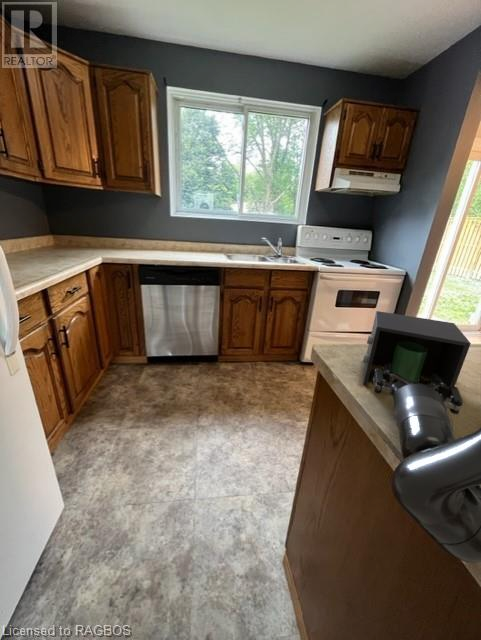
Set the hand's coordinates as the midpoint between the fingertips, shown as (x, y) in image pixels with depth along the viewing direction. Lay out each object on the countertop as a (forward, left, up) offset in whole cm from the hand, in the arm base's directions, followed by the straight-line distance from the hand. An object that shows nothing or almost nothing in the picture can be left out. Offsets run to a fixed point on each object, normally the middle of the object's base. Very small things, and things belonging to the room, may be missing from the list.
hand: (410, 371), depth 59 cm
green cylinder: (0, -5, -6) cm, 8 cm away
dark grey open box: (0, -6, -6) cm, 9 cm away
